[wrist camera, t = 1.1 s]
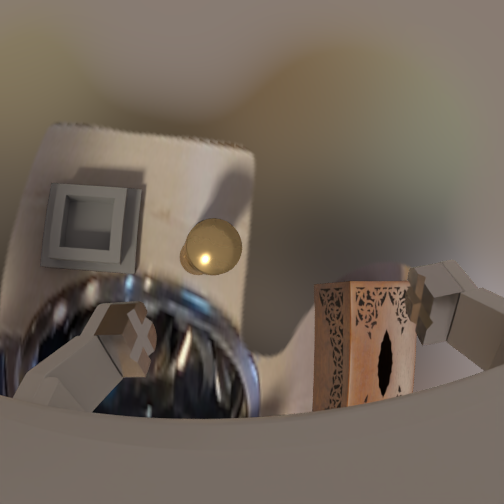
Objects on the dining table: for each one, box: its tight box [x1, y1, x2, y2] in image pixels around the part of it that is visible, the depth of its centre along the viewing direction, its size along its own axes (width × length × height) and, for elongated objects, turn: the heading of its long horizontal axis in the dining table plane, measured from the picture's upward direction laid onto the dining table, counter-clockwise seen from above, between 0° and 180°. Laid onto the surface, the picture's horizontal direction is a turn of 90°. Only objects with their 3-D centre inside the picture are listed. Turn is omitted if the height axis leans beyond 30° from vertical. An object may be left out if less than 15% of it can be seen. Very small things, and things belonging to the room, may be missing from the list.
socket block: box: [41, 183, 142, 274], centre depth 40 cm, size 14×12×4 cm
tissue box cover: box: [312, 281, 416, 412], centre depth 49 cm, size 26×14×10 cm, turn 179°
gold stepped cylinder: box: [180, 218, 242, 275], centre depth 42 cm, size 6×6×11 cm
